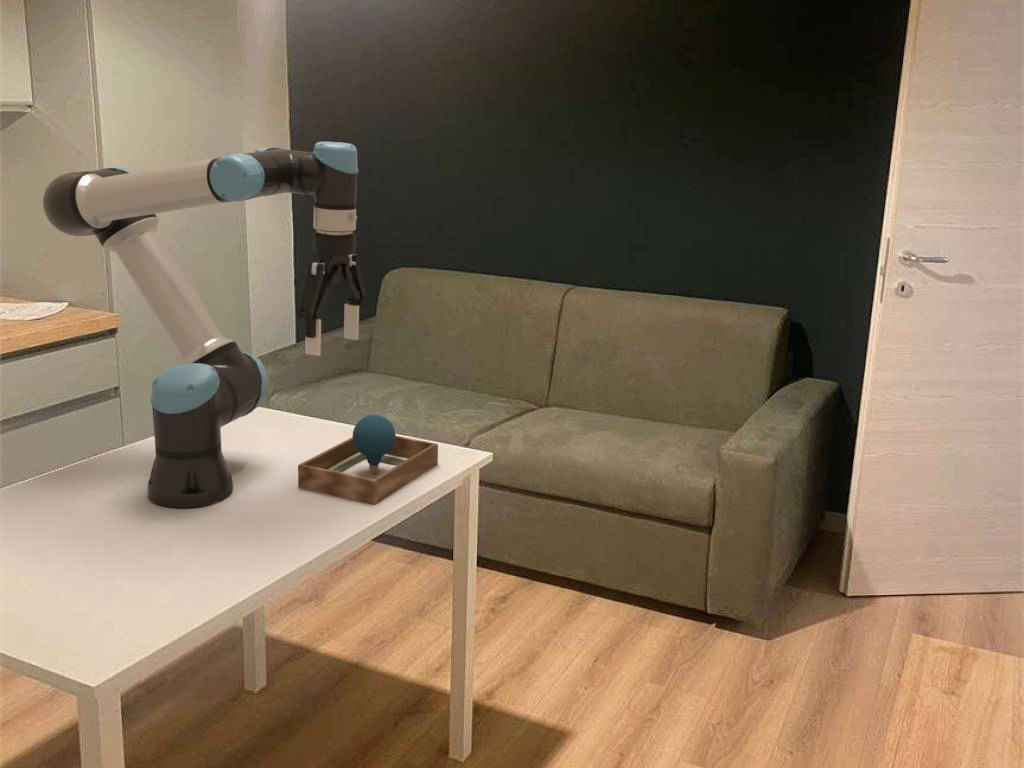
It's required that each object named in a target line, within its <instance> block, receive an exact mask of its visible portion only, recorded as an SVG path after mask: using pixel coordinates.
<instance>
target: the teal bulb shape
mask: <svg viewBox="0 0 1024 768" xmlns="http://www.w3.org/2000/svg"><path fill="white" fill-rule="evenodd" d="M396 436H397V435H396V430H395V427H394V425H393V424H392V422H391V421H390V420H389V419H387V418H386V417H384V416H382V415H379V414H369V415H366V416H364V417H362V418H361V419H360V420H359V421H357V423H356V424H355V426H354V428H353V431H352V437H353V442H354V445H355V447H356V449H357V450H358V451H359V452H360V453H361V454H363V455H364V456H366V458H367V459H366V460H367V461H366V462H367V463H368V467H369V468H368V472H369V473H371V474H373V475H374V474H378V472H379V469H380V468H379V465H380V463H381V462H380V461H381V458H382V456H384V455H385V454H386V453H388V452H389V451H390V450H391V448H392V447H393V445H394V443H395V437H396Z"/></svg>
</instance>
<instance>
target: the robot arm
mask: <svg viewBox="0 0 1024 768" xmlns="http://www.w3.org/2000/svg"><path fill="white" fill-rule="evenodd" d="M358 165H359V164H358V149H357V147H356V146H355V145H354V144H352V143H347V142H340V141H337V142H335V141H318V142H316V143H315V144H314V148H313V151H301V150H295V149H287V148H286V149H285V148H279V147H277V146H274V147H260V148H256V149H255V151H254V152H243V153H242V152H236V153H230V154H226V155H223V156H221V157H213V158H208V159H202V160H197V161H192V162H191V161H190V162H185V163H180V164H179V163H178V164H174V165H167V166H163V167H157V168H155V167H154V168H150V169H144V170H140V171H139V170H138V171H136V170H135V171H134V170H132V169H129V168H119V167H107V168H102V169H97V170H86V171H73V172H67V173H64V174H61V175H59V176H57V177H56V178H54V179H53V180H52V181H51V182H50V183H49V184H48V186H47V187H46V189H45V191H44V194H43V197H42V207H43V210H44V214H45V216H46V218H47V220H48V221H49V223H50V224H51V225H52V226H53V227H54V228H55V229H56V230H58V231H60V232H61V233H63V234H65V235H69V236H74V237H88V236H92V235H94V236H95V238H96V239H97V240H98V242H99V243H100V245H101V247H102V249H103V250H104V251H107V252H112V253H114V254H116V255H117V256H118V258H119V260H120V262H121V263H122V265H123V266H124V268H125V270H126V271H127V272H128V274H129V276H130V277H131V279H132V280H133V282H134V284H135V285H136V287H137V288H138V289H139V291H140V293H141V294H142V296H143V298H144V299H145V301H146V302H147V304H148V306H149V307H150V309H151V311H152V312H153V314H154V315H155V317H156V319H157V320H158V322H159V324H161V326H162V328H163V329H164V331H165V333H166V334H167V336H168V337H169V339H170V341H171V343H172V344H173V345H174V347H175V349H176V350H177V352H178V353H179V355H180V356H181V359H182V364H181V365H173V366H170V367H168V368H165V369H164V370H162V371H160V372H159V373H158V374H157V375H155V376H154V378H153V380H152V381H151V382H152V383H151V395H150V403H151V406H152V417H153V418H152V422H153V434H154V436H153V437H154V446H155V449H154V450H155V451H154V452H155V457H154V461H153V465H152V467H151V472H150V475H149V476H150V477H149V479H148V481H147V497H148V499H149V500H150V502H152V503H154V504H156V505H158V506H162V507H168V508H174V509H175V508H177V509H178V508H180V509H181V508H182V509H184V508H185V509H187V508H197V507H198V508H199V507H203V506H210V505H213V504H217V503H219V502H221V501H223V500H225V499H227V498H228V497H230V496H231V495H232V494H233V491H234V484H233V483H234V482H233V481H234V480H233V476H232V474H231V472H230V471H229V470H228V466H227V463H226V459H225V456H224V454H223V451H222V431H221V428H222V427H223V426H226V425H229V424H230V423H232V422H234V421H236V420H237V419H239V418H243V417H246V416H248V415H249V414H250V413H252V412H253V411H254V410H255V409H257V408H259V407H260V406H261V405H262V404H263V402H264V401H265V399H266V397H267V395H268V390H269V375H268V373H267V370H266V367H265V366H264V364H263V363H262V361H261V360H260V359H259V358H258V357H257V356H255V355H253V354H249V352H245V351H244V352H243V351H242V350H241V348H240V347H239V345H238V343H236V340H235V339H231V338H229V337H228V338H227V337H224V336H223V335H222V334H221V332H220V330H219V329H218V327H217V325H216V324H215V322H214V321H213V319H212V317H211V316H210V314H209V312H208V311H207V310H206V308H205V306H204V304H203V303H202V301H201V300H200V298H199V297H198V295H197V294H196V292H195V290H194V288H193V287H192V285H191V284H190V283H189V281H188V279H187V277H186V276H185V275H184V273H183V271H182V270H181V268H180V266H179V264H178V263H177V261H176V260H175V259H174V257H173V255H172V254H171V251H170V250H169V249H168V247H167V246H166V244H165V242H164V241H163V239H162V238H161V236H160V234H159V233H158V232H157V231H158V226H159V222H160V219H159V218H158V216H157V214H161V213H162V214H163V213H166V212H173V211H180V210H186V209H192V208H200V207H204V206H212V205H217V204H224V203H231V202H243V201H248V200H251V199H257V198H262V197H269V196H275V195H279V194H285V193H286V194H287V193H288V194H298V195H299V194H300V195H306V196H313V218H312V219H313V221H312V222H313V223H312V228H314V230H315V231H314V232H313V235H312V236H313V237H312V238H313V239H312V243H313V244H312V250H313V252H314V253H315V254H318V256H319V258H318V262H312V261H308V264H307V276H306V280H305V282H304V286H303V291H302V295H301V299H300V301H299V306H298V310H297V317H298V318H300V319H304V322H305V323H304V324H305V325H304V327H305V328H304V330H305V332H304V337H305V339H304V340H305V344H304V345H305V346H304V349H305V351H304V352H305V353H304V354H306V355H311V356H315V357H316V356H317V357H319V356H321V354H322V351H321V349H322V348H321V347H322V319H320V316H321V315H320V314H321V312H322V309H323V307H324V305H325V302H326V300H327V297H328V295H329V293H330V291H331V289H333V288H334V286H335V285H337V284H338V285H339V288H340V290H341V292H342V294H343V296H344V297H345V300H346V302H347V303H345V304H344V310H343V311H344V314H343V338H344V339H349V340H355V341H358V340H359V330H360V329H359V328H360V327H359V324H360V306H364V305H365V303H366V299H367V293H366V289H365V284H364V281H363V276H362V272H361V269H360V257H359V256H360V255H359V254H358V253H356V251H357V250H356V248H357V234H355V232H354V231H356V230H357V219H358V216H357V195H358V190H357V189H358V174H359V168H358Z"/></svg>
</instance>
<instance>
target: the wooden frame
mask: <svg viewBox="0 0 1024 768" xmlns="http://www.w3.org/2000/svg"><path fill="white" fill-rule="evenodd" d="M364 460H367V458H366V456H364V455H363V454H361V453H360V452H359V451H358V450H357V449H356V447H355V445H354V442H353V436H352V437H350V438H348V439H346V440H344V441H342V442H341V443H338V444H336V445H335V446H333V447H330V448H328V449H327V450H325V451H323V452H320V453H319V454H317V455H315V456H313V457H312V458H309V459H307V460H305V461H304V462H301V463H299V464H298V465H297V479H298V481H297V483H298V484H297V485H298V488H299V489H303V490H308V491H313V492H316V493H322V494H326V495H331V496H334V497H335V496H336V497H339V498H344V499H348V500H353V501H357V502H362V503H366V504H371V505H377V504H378V503H379V502H381V501H383V500H384V499H386V498H387V497H389V496H391V495H392V494H394V493H396V492H397V491H399V490H400V489H402V488H403V487H405V486H406V485H408V484H410V483H411V482H413V481H414V480H416V479H418V478H419V477H421V476H422V475H424V474H425V473H427V472H429V471H430V470H432V469H433V468H435V467H436V466H438V464H439V443H436V442H431V441H426V440H422V439H421V440H420V439H415V438H411V437H410V438H409V437H404V436H400V435H396V437H395V443H394V445H393V447H392V448H391V450H390V451H389V452H388V453H386V454H385V455H384V456H382V458H381V461H380V463H384V464H389V465H393V467H392V468H391V469H389V470H387V471H386V472H384V473H382V474H380V475H379V476H377V477H375V478H370V477H366V476H361V475H356V474H353V473H352V474H351V473H347V472H344V471H346V470H348V469H349V468H351V467H354V465H356V464H359V463H360V462H362V461H364ZM434 466H435V467H434ZM431 468H432V469H431ZM426 471H427V472H426ZM424 472H425V473H424ZM423 473H424V474H423ZM420 475H421V476H420ZM418 476H419V477H418ZM415 478H416V479H415ZM412 480H413V481H412ZM410 481H411V482H410ZM409 482H410V483H409ZM407 483H408V484H407ZM404 485H405V486H404ZM401 487H402V488H401ZM398 489H399V490H398ZM396 490H397V491H396Z"/></svg>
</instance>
